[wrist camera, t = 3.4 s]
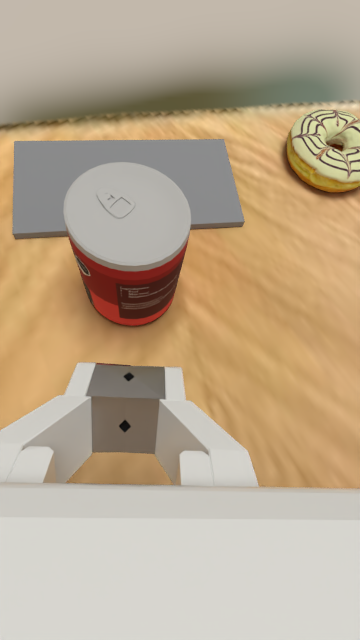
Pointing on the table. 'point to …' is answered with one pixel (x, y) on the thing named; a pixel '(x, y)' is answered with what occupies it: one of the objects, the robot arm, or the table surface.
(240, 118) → the table surface
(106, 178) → the canned food
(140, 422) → the robot arm
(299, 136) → the decorated donut
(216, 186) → the mat
